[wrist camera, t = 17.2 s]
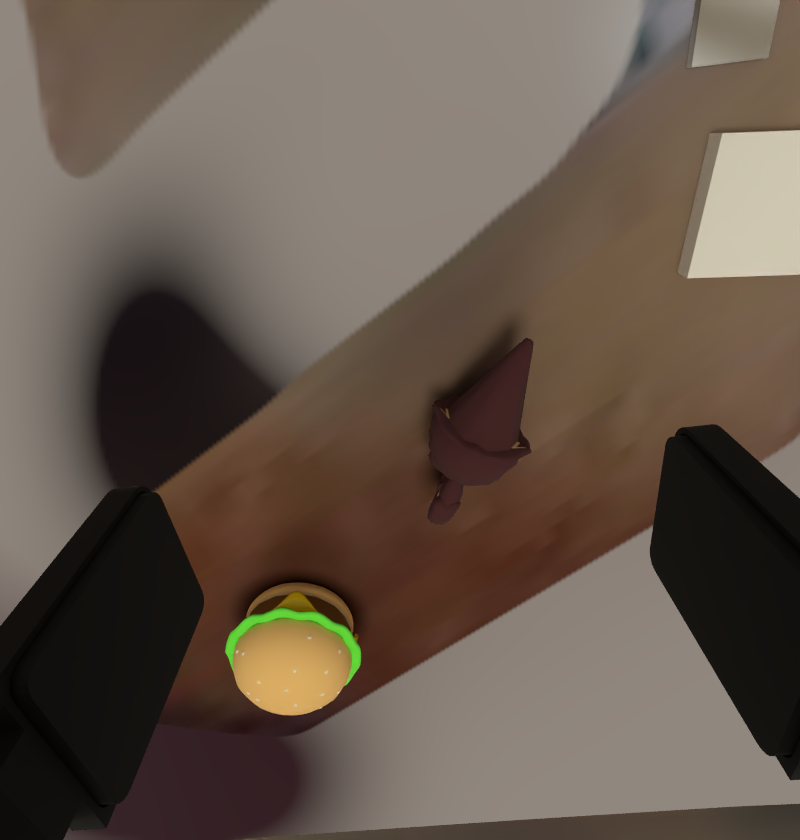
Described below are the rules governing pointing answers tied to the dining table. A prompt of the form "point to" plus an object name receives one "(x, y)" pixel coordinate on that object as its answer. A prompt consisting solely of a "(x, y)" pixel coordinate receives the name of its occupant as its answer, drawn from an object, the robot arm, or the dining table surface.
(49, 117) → the dining table surface
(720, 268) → the tile
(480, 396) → the icecream
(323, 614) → the hamburger
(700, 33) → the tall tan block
